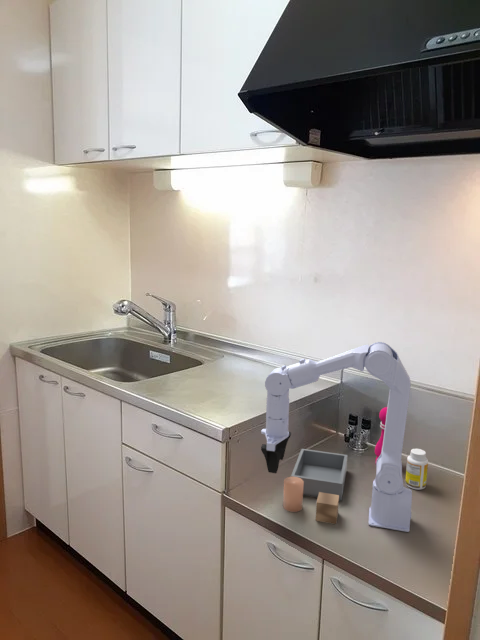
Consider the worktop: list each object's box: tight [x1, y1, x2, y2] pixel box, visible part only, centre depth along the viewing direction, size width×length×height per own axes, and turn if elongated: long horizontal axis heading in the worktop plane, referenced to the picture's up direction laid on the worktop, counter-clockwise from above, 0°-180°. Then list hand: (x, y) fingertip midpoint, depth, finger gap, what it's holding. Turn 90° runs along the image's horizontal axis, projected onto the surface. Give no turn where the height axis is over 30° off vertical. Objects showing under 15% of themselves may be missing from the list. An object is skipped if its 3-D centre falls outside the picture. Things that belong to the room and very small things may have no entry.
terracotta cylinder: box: [282, 476, 304, 513], centre depth 129 cm, size 5×5×7 cm
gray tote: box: [290, 448, 348, 502], centre depth 142 cm, size 14×18×5 cm
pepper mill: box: [374, 404, 388, 465], centre depth 151 cm, size 7×7×20 cm
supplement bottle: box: [404, 448, 429, 491], centre depth 140 cm, size 6×6×10 cm
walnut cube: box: [315, 492, 340, 525], centre depth 125 cm, size 5×5×5 cm
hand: (275, 465), depth 130 cm, fingers open, 7 cm apart
